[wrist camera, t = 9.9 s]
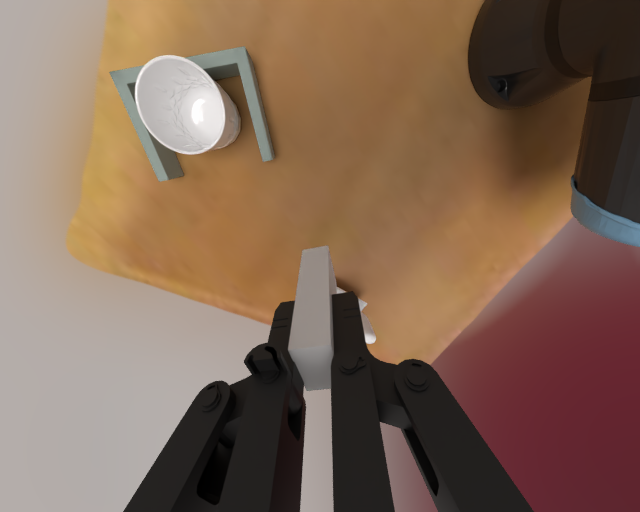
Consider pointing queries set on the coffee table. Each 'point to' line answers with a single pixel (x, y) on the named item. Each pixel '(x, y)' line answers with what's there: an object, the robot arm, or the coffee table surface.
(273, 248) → the coffee table surface
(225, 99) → the white cup
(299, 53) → the coffee table surface
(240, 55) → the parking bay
